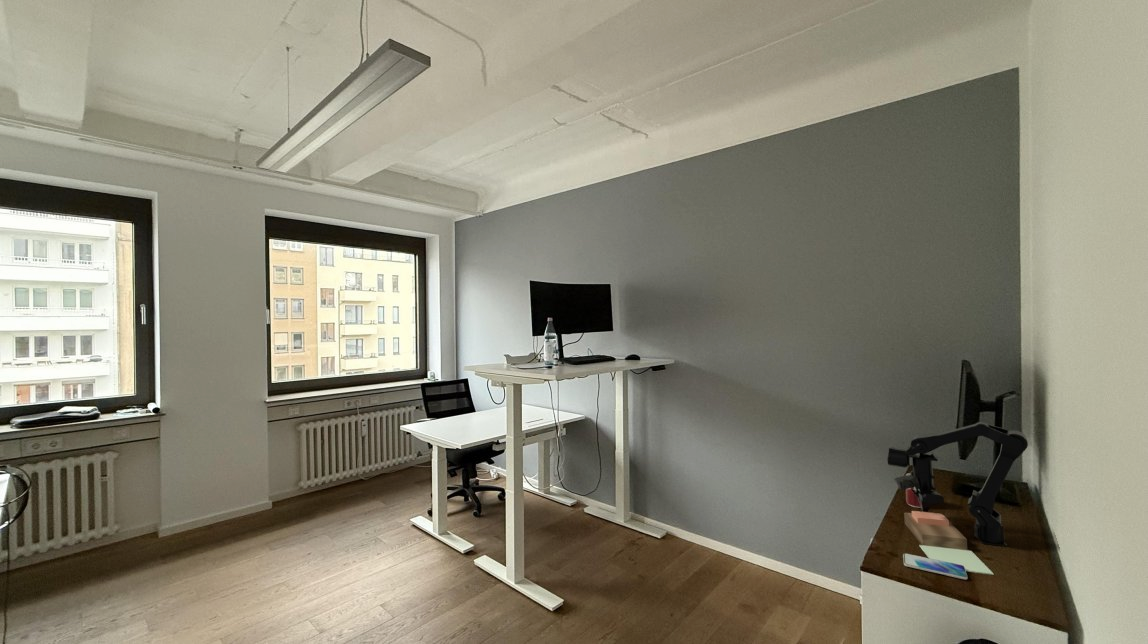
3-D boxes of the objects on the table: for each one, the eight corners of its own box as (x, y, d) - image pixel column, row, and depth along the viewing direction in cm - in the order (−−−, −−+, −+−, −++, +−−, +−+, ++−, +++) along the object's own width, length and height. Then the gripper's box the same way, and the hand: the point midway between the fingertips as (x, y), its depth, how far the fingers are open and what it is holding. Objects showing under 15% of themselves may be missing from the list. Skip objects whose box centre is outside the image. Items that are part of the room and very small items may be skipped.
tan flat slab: (944, 527, 162) (943, 516, 162) (967, 551, 145) (966, 539, 145) (904, 523, 166) (904, 512, 166) (922, 546, 150) (922, 534, 150)
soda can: (931, 505, 180) (930, 476, 181) (924, 510, 176) (923, 480, 176) (910, 500, 186) (909, 471, 187) (903, 504, 182) (902, 475, 182)
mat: (971, 551, 145) (971, 550, 145) (993, 574, 132) (993, 573, 132) (919, 545, 150) (919, 544, 150) (936, 567, 137) (936, 566, 137)
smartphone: (903, 552, 144) (964, 565, 135) (903, 555, 144) (964, 568, 135) (903, 563, 138) (968, 578, 129) (903, 566, 138) (968, 580, 129)
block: (942, 519, 160) (941, 513, 160) (949, 526, 154) (948, 520, 154) (911, 516, 163) (911, 510, 163) (917, 523, 157) (917, 517, 157)
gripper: (889, 461, 175) (891, 500, 175) (904, 477, 158) (906, 521, 157) (923, 463, 171) (925, 503, 171) (943, 479, 154) (945, 524, 153)
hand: (924, 512), depth 163 cm, fingers closed
